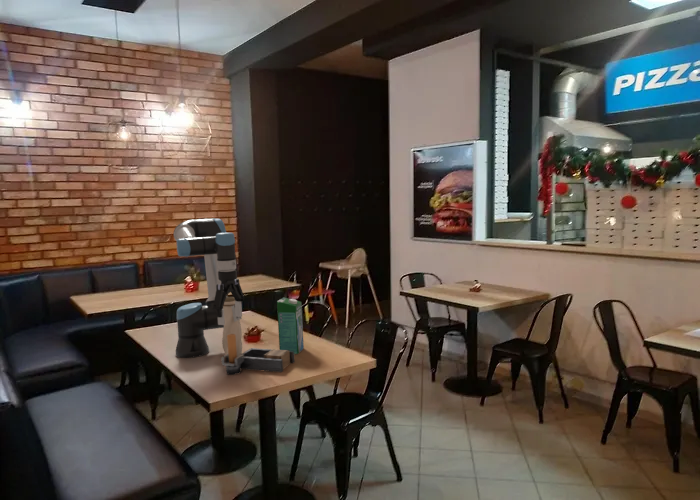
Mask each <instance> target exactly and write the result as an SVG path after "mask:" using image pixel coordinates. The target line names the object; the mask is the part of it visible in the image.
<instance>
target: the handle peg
mask: <svg viewBox="0 0 700 500" xmlns="http://www.w3.org/2000/svg"><path fill="white" fill-rule="evenodd" d="M227 341H228V355H229V363H235V358H236V357H237V350H236V336H235V334H229V335H227Z"/></svg>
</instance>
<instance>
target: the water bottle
mask: <svg viewBox="0 0 700 500" xmlns="http://www.w3.org/2000/svg"><path fill="white" fill-rule="evenodd" d="M235 301H236V300H235V298H234V297H233V296H227V297H226V299H225V302H224V305H223V309H224V319H225V325H224V328H222V330H223V331H222V338H221V345H222V349H223V352H224V356H225V355H227V354H228V341H227V335H229V334H235V336H236V350H237V356H239V355H241V354H242V353H243V341H242V339H243V338H242V334H243V333H242V325H241V320H242V319H243V318H242V317H236V313H235Z"/></svg>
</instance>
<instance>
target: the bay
mask: <svg viewBox="0 0 700 500" xmlns="http://www.w3.org/2000/svg"><path fill="white" fill-rule="evenodd" d="M271 350H273V348H272V349H271V348H270V349H268V348H256V347H251V348H249V349H247V350H246V351H244V352H242V354H243V355H244V362H243V363H241V370H250V371H251V370H252V371H261V370H264V371H263V372H273V371H274V372H275V373H282V372H283V371H284V369H283V360H282V359H270V358H264V355H265V354H266V353H268V352H269V351H271ZM289 353H290V364H294V363H295V362H296V361H295V354H294V351H289ZM239 356H240V355H239ZM237 357H238V356H237Z"/></svg>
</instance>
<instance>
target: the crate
mask: <svg viewBox="0 0 700 500" xmlns="http://www.w3.org/2000/svg"><path fill="white" fill-rule="evenodd" d="M264 358H270V359H282V360H283V370H284V369H286V367H288V366H290V364H291V363H290V353H289V350H280V349H276V348H272V350H271V351H269V352H268V353H266V354H265V355H264Z"/></svg>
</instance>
